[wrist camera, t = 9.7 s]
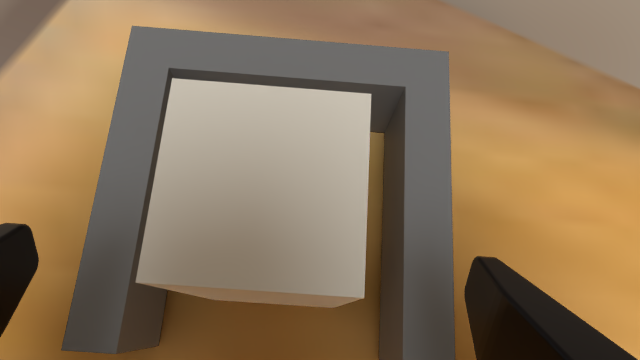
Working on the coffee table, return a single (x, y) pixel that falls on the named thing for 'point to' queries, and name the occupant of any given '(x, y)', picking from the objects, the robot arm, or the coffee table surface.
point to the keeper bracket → (295, 72)
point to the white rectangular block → (260, 195)
